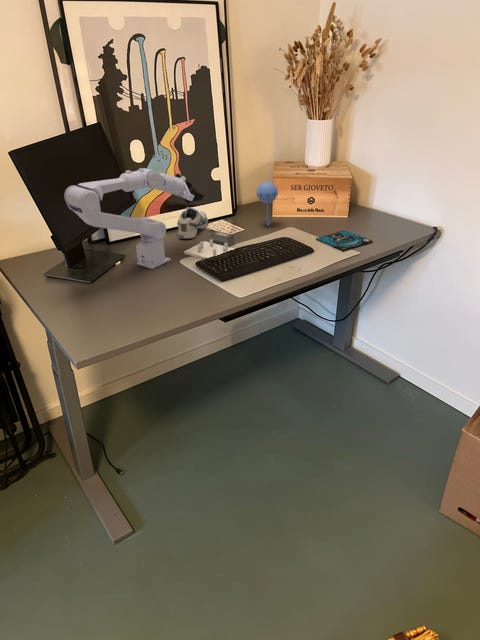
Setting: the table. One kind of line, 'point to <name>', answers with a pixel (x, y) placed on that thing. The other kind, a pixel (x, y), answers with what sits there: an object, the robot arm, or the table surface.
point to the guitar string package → (344, 240)
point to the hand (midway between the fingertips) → (196, 192)
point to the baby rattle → (267, 195)
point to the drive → (222, 238)
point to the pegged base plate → (207, 249)
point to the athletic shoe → (191, 223)
